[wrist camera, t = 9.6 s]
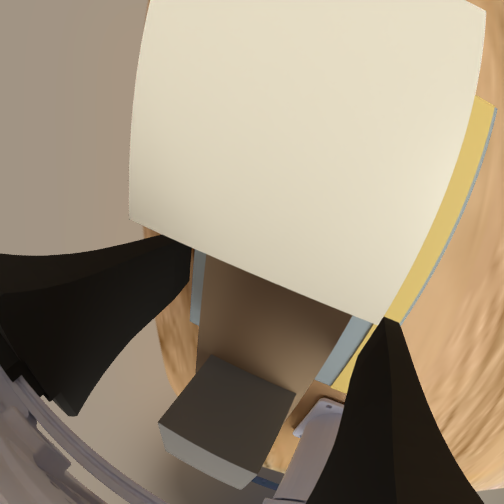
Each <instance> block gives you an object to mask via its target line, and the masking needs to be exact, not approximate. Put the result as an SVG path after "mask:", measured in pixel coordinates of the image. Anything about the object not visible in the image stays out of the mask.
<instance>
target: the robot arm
mask: <svg viewBox="0 0 504 504" xmlns="http://www.w3.org/2000/svg"><path fill="white" fill-rule="evenodd" d="M191 249H192V247H189V246H187V245H185V244H183V243H180V242H178V241H176V240H174V239H171V238H169V237H167V236H165V235H159V236H154V237H150V238H146V239H143V240H139V241H134V242H131V243H126V244H122V245H117V246H113V247H109V248H104V249H99V250H94V251H88V252H81V253H73V254H62V255H49V256H22V255H9V254H0V504H107V503H106V502H105V501H103V500H102V499H101V498H99V497H98V496H97V495H95V494H94V493H93V492H91V491H90V490H89V489H87V488H86V487H85V486H84V485H83V484H82V483H80V482H79V481H78V480H77V479H75V478H74V477H73V476H72V475H71V474H70V473H69V472H68V471H66V469H68V467H69V466H70V465H71V462H70V461H69V460H68V459H67V458H66V457H65V456H64V455H63V454H62V453H61V452H60V450H59V449H58V448H57V447H55V446H54V444H52V443H51V442H50V441H49V440H48V439H47V438H46V437H45V436H44V435H43V434H42V433H41V432H40V431H39V430H38V429H37V427H36V424H37V421H38V422H39V423H40V424H41V425H42V426H43V428H44V429H45V430H46V431H47V432H48V433H49V434H50V435H51V436H52V437H53V438H54V439H55V440H56V441H57V442H58V444H59V445H60V446H61V447H62V448H63V449H65V450H66V451H67V452H68V453H69V454H70V455H71V456H72V457H73V458H74V459H75V460H76V461H77V462H78V463H80V464H81V465H82V466H83V467H84V468H85V469H86V470H87V471H89V472H90V473H91V474H92V475H93V476H95V477H96V478H97V479H98V480H99V481H101V482H102V483H103V484H104V485H106V486H107V487H108V488H110V489H111V490H112V491H114V492H115V493H116V494H118V495H119V496H120V497H122V498H123V499H125V500H126V501H127V502H129V503H130V504H169V503H167V502H165V501H164V500H162V499H160V498H158V497H157V496H155V495H154V494H152V493H151V492H149V491H147V490H146V489H144V488H143V487H141V486H140V485H138V484H137V483H135V482H134V481H133V480H131V479H130V478H128V477H127V476H126V475H124V474H123V473H121V472H120V471H119V470H117V469H116V468H115V467H113V466H112V465H111V464H110V463H108V462H107V461H106V460H104V459H103V458H102V457H101V456H100V455H98V454H97V453H96V452H95V451H93V449H91V448H90V447H89V446H88V445H87V444H86V443H85V442H83V441H82V440H81V439H80V438H79V437H78V436H77V435H76V434H75V433H74V432H73V431H72V430H70V429H69V428H68V427H67V426H66V425H65V424H64V423H63V422H62V421H61V420H60V419H59V418H58V417H57V416H56V415H55V414H54V413H53V412H52V410H50V408H49V407H48V406H47V405H46V404H45V403H44V402H43V400H42V399H41V398H40V397H41V396H42V395H44V396H45V397H46V398H47V400H48V401H52V400H53V401H54V402H55V403H56V404H57V405H58V406H59V407H60V408H61V409H62V410H63V411H64V412H65V413H66V414H67V415H68V416H77V415H78V413H79V412H80V410H81V408H82V406H83V404H84V403H85V401H86V400H87V398H88V396H89V395H90V393H91V391H92V390H93V389H94V387H95V386H96V384H97V383H98V381H99V380H100V378H101V377H102V375H103V374H104V373H105V371H106V370H107V369H108V367H109V366H110V364H111V363H112V362H113V361H114V359H115V358H116V357H117V356H118V354H119V353H120V352H121V351H122V350H123V349H124V347H125V346H126V345H127V344H128V343H129V342H130V340H131V339H132V338H133V337H134V336H135V335H136V334H137V333H138V332H139V331H141V330H142V329H143V328H144V327H145V326H146V325H147V324H148V323H149V322H150V321H151V320H152V319H154V318H155V317H156V316H157V315H158V314H159V313H160V312H161V311H162V310H163V309H164V308H165V307H166V306H168V305H169V304H170V303H171V302H172V301H173V300H174V299H175V298H176V296H177V295H178V294H179V293H180V292H181V290H182V289H183V288H184V287H185V285H186V284H187V283H188V281H189V276H190V262H191ZM293 435H294V436H296V437H299V438H301V439H300V441H299V443H298V446H297V448H296V450H295V453H294V455H293V457H292V459H291V462H290V464H289V466H288V468H287V470H286V472H285V475H284V477H283V479H282V481H281V483H280V485H279V487H278V489H277V491H276V493H275V495H274V497H273V499H269V498H265V500H264V501H263V503H262V504H484V503H483V501H482V500H481V498H480V497H479V495H478V494H477V493H476V491H475V490H474V489H473V487H472V486H471V484H470V483H469V482H468V480H467V479H466V477H465V475H464V474H463V472H462V470H461V469H460V467H459V466H458V464H457V462H456V461H455V459H454V457H453V455H452V454H451V452H450V450H449V448H448V446H447V444H446V442H445V440H444V438H443V436H442V434H441V432H440V430H439V428H438V426H437V424H436V421H435V419H434V417H433V415H432V412H431V410H430V408H429V405H428V403H427V400H426V398H425V395H424V392H423V390H422V387H421V385H420V382H419V379H418V376H417V374H416V371H415V368H414V365H413V362H412V359H411V356H410V353H409V350H408V347H407V344H406V341H405V338H404V335H403V332H402V329H401V327H400V324H399V322H396V321H394V320H391V319H389V318H386V317H383V318H382V320H381V321H380V323H379V325H378V326H377V327H376V329H375V330H374V332H373V333H372V335H371V337H370V338H369V340H368V341H367V343H366V344H365V346H364V347H363V349H362V350H361V351H360V353H359V354H358V357H357V360H356V363H355V366H354V369H353V372H352V375H351V378H350V382H349V387H348V391H347V396H346V400H345V404H344V405H343V404H341V403H338V402H335V401H332V400H330V399H327V398H320V399H319V400H318V402H317V403H316V404H315V405H314V407H313V408H312V409H311V410H310V412H309V413H308V414H307V415H306V417H305V418H304V419H303V420H302V421H301V423H300V424H299V425H298V426H297V427H296V428H295V430H294V431H293Z"/></svg>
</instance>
